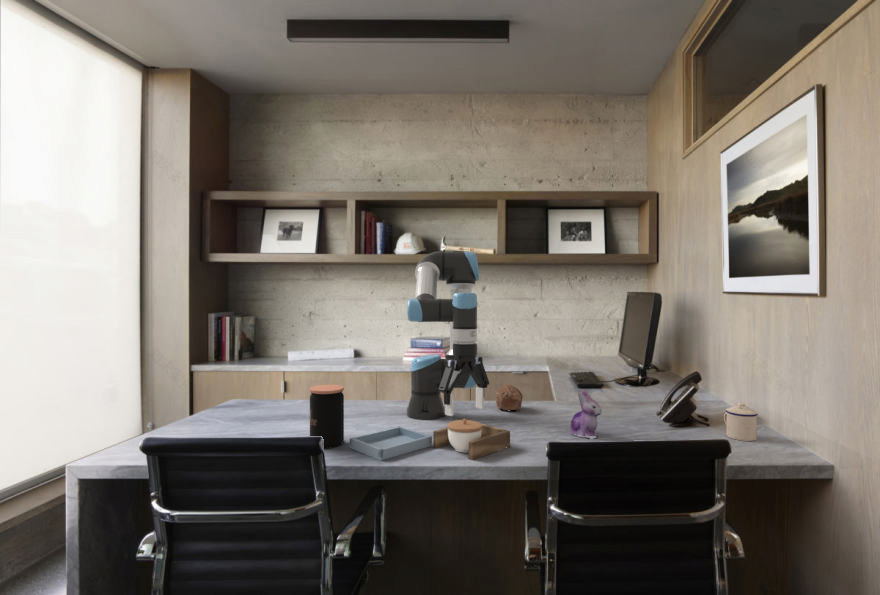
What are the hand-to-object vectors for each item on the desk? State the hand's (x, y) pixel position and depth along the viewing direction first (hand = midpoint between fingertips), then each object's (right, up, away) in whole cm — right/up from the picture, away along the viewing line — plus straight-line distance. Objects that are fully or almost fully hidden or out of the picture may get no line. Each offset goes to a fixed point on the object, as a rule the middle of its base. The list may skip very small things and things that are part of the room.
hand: (464, 411), depth 153 cm
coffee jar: (-44, -12, +6) cm, 46 cm away
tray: (-23, -12, +3) cm, 26 cm away
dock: (+2, -12, +3) cm, 12 cm away
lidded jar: (0, -12, +1) cm, 12 cm away
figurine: (+42, -12, +16) cm, 46 cm away
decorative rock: (+21, -11, +52) cm, 58 cm away
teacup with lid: (+93, -12, +15) cm, 95 cm away
